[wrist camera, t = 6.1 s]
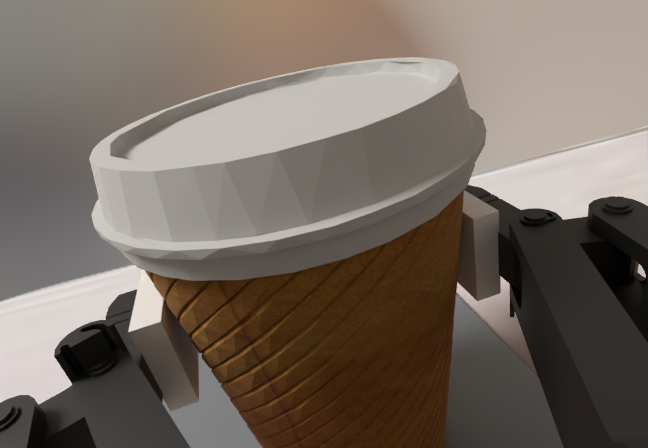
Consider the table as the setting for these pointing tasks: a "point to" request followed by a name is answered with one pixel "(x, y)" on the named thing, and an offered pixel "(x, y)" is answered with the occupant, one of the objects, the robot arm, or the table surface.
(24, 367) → the table surface
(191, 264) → the disposable coffee cup
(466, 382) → the tile
